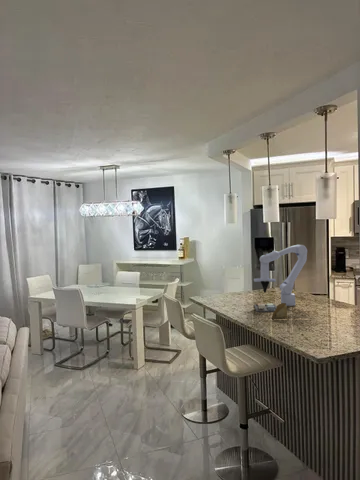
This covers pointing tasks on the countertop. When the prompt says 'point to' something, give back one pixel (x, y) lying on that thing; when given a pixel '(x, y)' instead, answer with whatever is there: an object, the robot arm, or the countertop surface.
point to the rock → (280, 312)
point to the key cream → (261, 306)
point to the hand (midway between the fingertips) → (264, 292)
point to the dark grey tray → (264, 309)
